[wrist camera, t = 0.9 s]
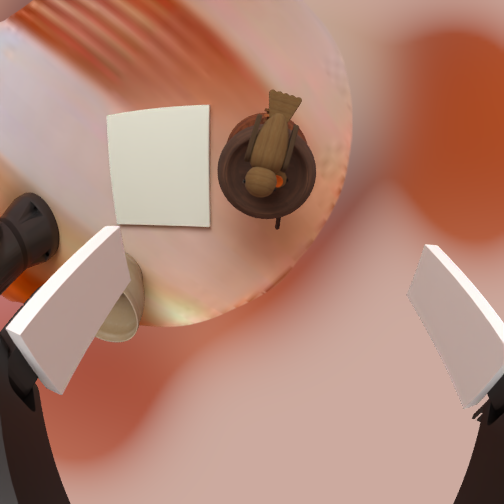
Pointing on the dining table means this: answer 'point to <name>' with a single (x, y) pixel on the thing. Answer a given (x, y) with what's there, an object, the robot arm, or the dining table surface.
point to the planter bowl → (125, 309)
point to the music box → (268, 162)
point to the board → (161, 166)
